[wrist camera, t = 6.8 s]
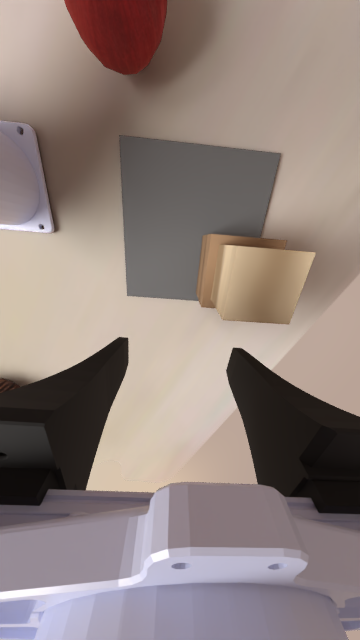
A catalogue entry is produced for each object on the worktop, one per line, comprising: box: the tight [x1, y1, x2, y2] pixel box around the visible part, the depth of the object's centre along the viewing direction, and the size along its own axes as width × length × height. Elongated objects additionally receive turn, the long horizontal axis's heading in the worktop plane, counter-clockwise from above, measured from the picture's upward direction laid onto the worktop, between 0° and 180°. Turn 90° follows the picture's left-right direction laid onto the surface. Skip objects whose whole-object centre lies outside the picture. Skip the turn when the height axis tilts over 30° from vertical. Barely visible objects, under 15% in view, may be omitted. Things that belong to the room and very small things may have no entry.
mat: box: [119, 135, 280, 301], centre depth 18 cm, size 14×14×1 cm
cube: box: [211, 244, 316, 324], centre depth 13 cm, size 4×4×4 cm
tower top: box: [198, 234, 287, 308], centre depth 16 cm, size 6×6×2 cm
